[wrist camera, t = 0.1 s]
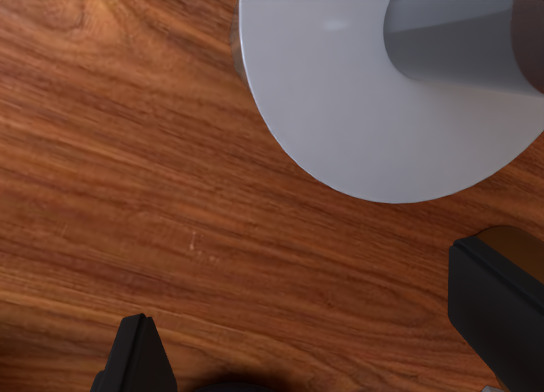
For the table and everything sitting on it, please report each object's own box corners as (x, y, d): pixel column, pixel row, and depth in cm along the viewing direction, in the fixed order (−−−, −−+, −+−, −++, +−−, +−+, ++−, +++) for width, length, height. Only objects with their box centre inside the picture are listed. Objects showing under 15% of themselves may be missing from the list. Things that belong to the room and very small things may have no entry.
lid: (194, -176, 8) (137, -838, 2) (602, -233, 9) (1450, -854, 3) (271, 220, 12) (329, 391, 6) (551, 157, 13) (861, 254, 7)
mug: (490, 335, 36) (578, 425, 27) (422, 332, 35) (491, 426, 26) (542, 227, 32) (664, 291, 23) (468, 217, 31) (568, 283, 22)
